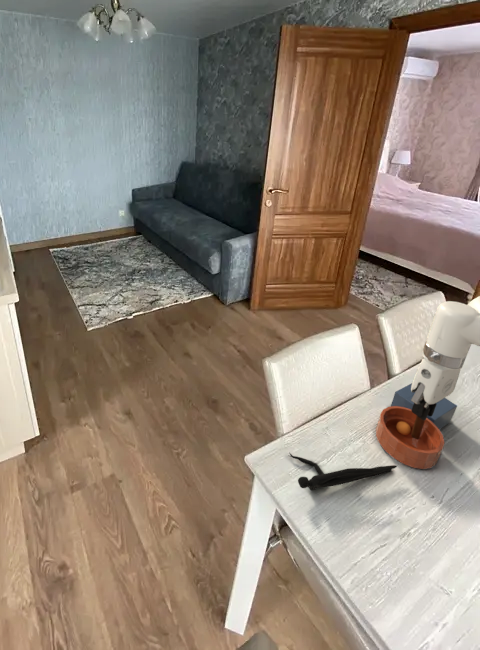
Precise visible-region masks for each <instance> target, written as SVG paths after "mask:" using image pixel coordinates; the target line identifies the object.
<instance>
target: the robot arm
mask: <svg viewBox="0 0 480 650" xmlns="http://www.w3.org/2000/svg"><path fill="white" fill-rule="evenodd" d="M472 345H475V346H476V347H480V295H478V296H477V297H475V298H474V299H472V300H471V301H469V302H468V303H467V304H465V303H463V302H459V301H451V300H448V301H442V302H441V303H439V304H438V306H437V308H436V310H435V313H434V316H433V319H432V322H431V324H430V328H429V331H428V334H427V337H426V340H425V342H424V345H423V348H422V351H421V355H422V357H423V358H422V359H421V361H420V363H419V365H418V368H417V369H416V372H415V375H414V377H413V380H412V382H411V383H412V386H411V391H412V393H414V392H415V394H414V396H413V397H412V399H411V401H412V402H414V405H413V407H412V410H411V411H412V412H413V413H414V414H415V415H417V416H418V417H419V418H421V419H422V420H426V418H427V416H430V417H431V416H432V415H433V413H434V410H435V407H436V405H437V404H436V403H437V402H438V401H440V400H442V399H444V398H447V397H448V396H450V395H451V394H452V393H454V391H455V389H456V387H457V382H458V380H459V377H460V373H461V369H462V368H463V366H464V364H465V361H466V359H467V356H468V354H469V351H470V349H471V346H472ZM422 397H423V398H424V400H423V399H422Z"/></svg>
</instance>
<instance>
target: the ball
mask: <svg viewBox="0 0 480 650" xmlns="http://www.w3.org/2000/svg"><path fill="white" fill-rule="evenodd" d="M396 428H397V431H398V432H399V433H400V434H402V435H408V434H410V432H411V428H410V426H409V425H408V424H407V423H406V422H403V421H400V422H398V423H397V425H396Z"/></svg>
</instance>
